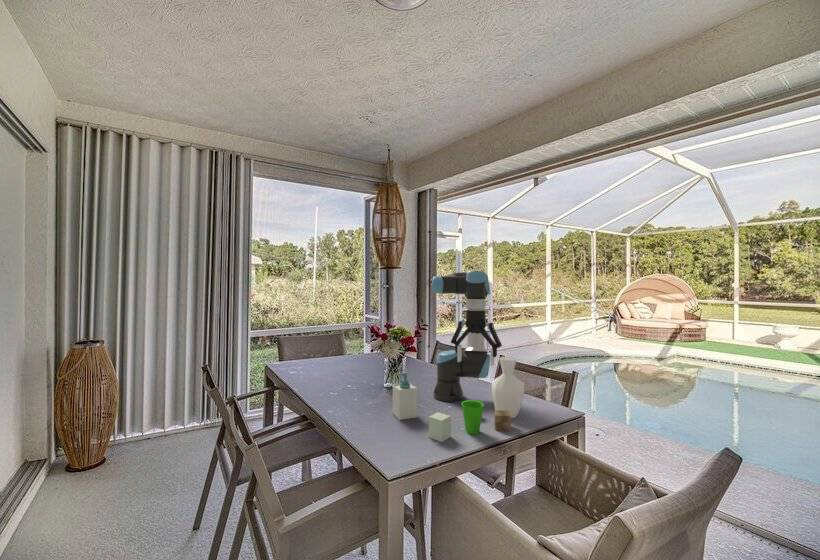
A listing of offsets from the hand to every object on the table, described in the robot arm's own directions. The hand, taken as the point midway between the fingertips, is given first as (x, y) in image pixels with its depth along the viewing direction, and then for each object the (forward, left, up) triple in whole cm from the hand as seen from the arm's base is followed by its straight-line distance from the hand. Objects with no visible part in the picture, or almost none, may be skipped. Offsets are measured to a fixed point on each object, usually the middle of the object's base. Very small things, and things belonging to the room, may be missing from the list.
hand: (475, 363), depth 145 cm
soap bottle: (-33, 0, -27) cm, 43 cm away
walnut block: (+8, +9, -27) cm, 30 cm away
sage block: (-10, -12, -27) cm, 31 cm away
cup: (-1, -1, -27) cm, 27 cm away
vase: (+6, +24, -27) cm, 37 cm away
